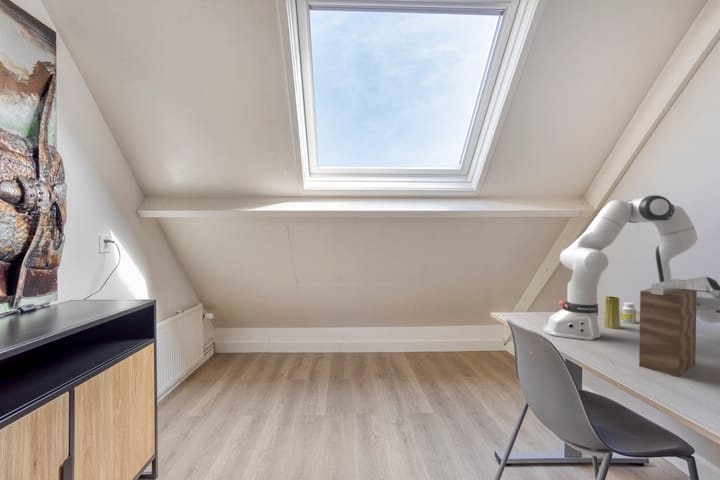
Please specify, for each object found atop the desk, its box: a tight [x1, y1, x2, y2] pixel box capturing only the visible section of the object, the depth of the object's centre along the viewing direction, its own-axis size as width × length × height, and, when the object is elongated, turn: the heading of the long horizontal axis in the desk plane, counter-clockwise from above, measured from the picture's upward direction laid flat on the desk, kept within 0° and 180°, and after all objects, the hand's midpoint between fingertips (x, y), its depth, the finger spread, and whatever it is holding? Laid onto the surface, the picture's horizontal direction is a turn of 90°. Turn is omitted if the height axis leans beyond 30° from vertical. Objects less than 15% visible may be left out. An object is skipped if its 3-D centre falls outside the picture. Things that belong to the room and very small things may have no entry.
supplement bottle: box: [621, 301, 637, 324], centre depth 164 cm, size 5×5×10 cm
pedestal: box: [638, 288, 697, 378], centre depth 112 cm, size 16×10×26 cm, turn 120°
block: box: [650, 278, 687, 295], centre depth 112 cm, size 22×3×3 cm, turn 121°
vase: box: [603, 296, 621, 330], centre depth 156 cm, size 6×6×14 cm
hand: (690, 287), depth 122 cm, fingers open, 8 cm apart
